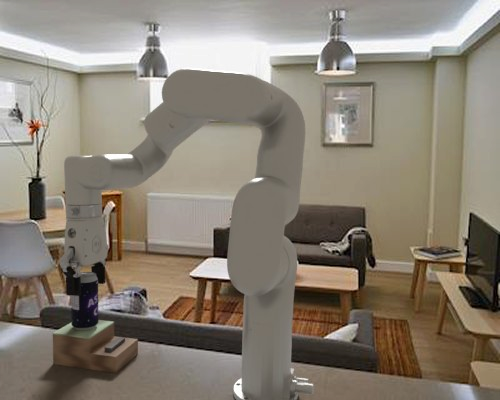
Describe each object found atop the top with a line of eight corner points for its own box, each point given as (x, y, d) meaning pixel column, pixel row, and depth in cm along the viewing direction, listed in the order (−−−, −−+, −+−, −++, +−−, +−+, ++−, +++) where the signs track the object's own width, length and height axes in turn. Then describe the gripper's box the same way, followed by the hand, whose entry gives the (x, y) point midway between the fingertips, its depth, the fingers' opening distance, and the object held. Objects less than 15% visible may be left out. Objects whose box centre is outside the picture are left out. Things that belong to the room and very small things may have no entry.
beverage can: (90, 333, 102) (89, 278, 101) (66, 330, 103) (65, 276, 102) (103, 323, 108) (102, 272, 107) (80, 321, 109) (80, 270, 108)
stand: (137, 353, 109) (137, 324, 108) (116, 373, 99) (116, 340, 98) (79, 346, 112) (79, 317, 111) (53, 364, 102) (52, 332, 102)
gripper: (76, 217, 94) (79, 301, 95) (119, 208, 111) (121, 280, 112) (43, 216, 96) (46, 299, 97) (90, 208, 112) (93, 278, 114)
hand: (86, 288), depth 105 cm, fingers open, 9 cm apart
